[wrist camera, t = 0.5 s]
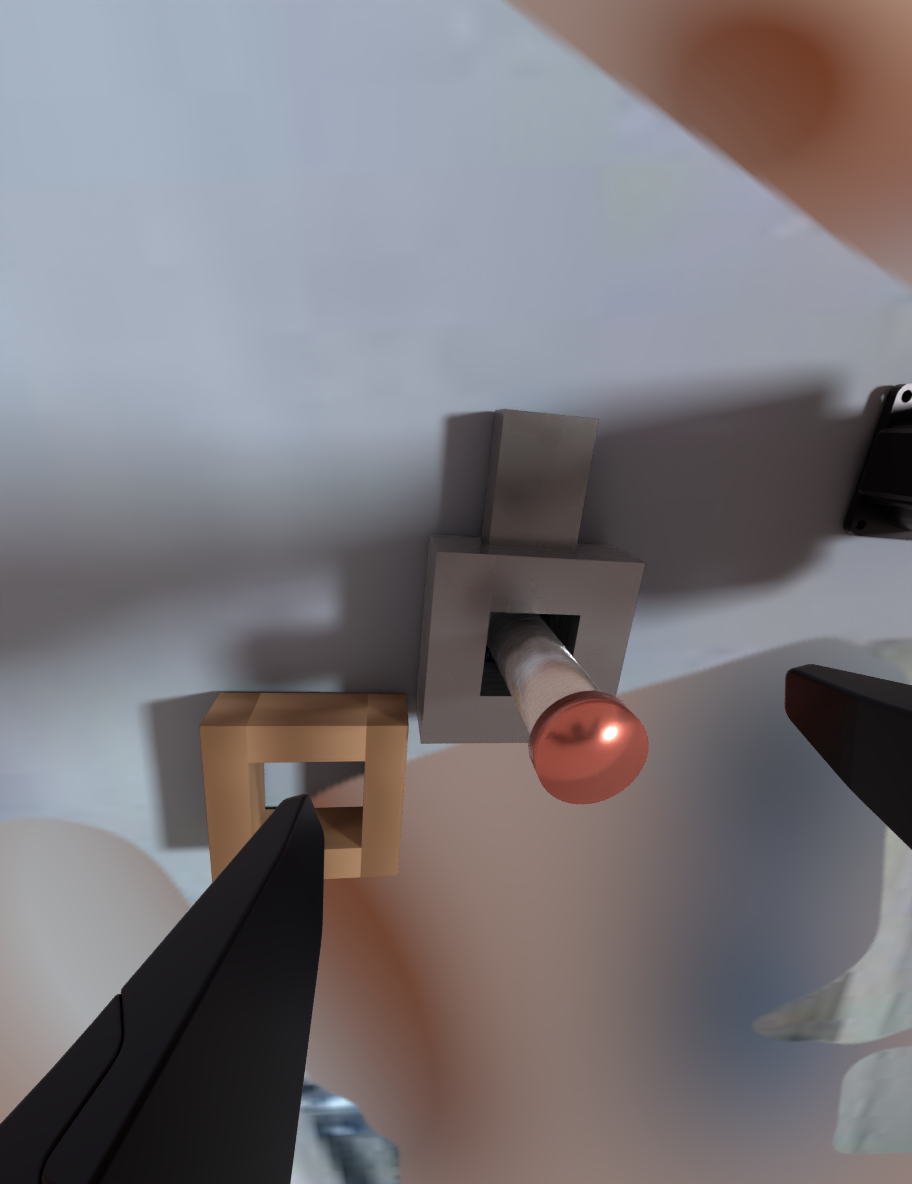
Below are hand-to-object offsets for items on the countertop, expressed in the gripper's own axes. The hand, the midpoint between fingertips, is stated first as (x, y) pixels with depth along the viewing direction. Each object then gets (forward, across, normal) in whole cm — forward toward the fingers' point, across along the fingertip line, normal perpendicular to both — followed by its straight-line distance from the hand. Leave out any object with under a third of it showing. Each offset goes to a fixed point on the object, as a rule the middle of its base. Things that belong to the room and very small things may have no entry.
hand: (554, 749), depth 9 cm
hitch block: (+13, -2, +1) cm, 13 cm away
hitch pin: (+13, -2, +4) cm, 13 cm away
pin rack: (+12, +9, +8) cm, 17 cm away
